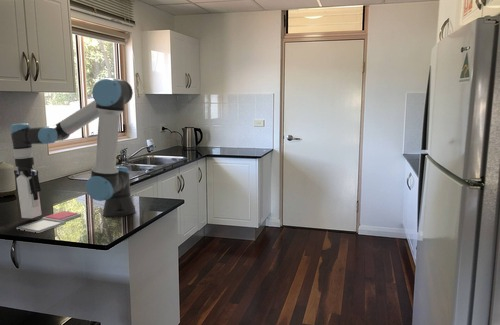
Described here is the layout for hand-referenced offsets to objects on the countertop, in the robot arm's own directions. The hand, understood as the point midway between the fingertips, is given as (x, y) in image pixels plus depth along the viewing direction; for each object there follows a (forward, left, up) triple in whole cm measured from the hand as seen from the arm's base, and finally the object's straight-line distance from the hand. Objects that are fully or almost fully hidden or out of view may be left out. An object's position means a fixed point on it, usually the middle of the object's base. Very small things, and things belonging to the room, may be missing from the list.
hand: (30, 206), depth 191 cm
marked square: (-13, +5, -7) cm, 15 cm away
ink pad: (-11, -8, -7) cm, 15 cm away
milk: (0, 0, -5) cm, 5 cm away
